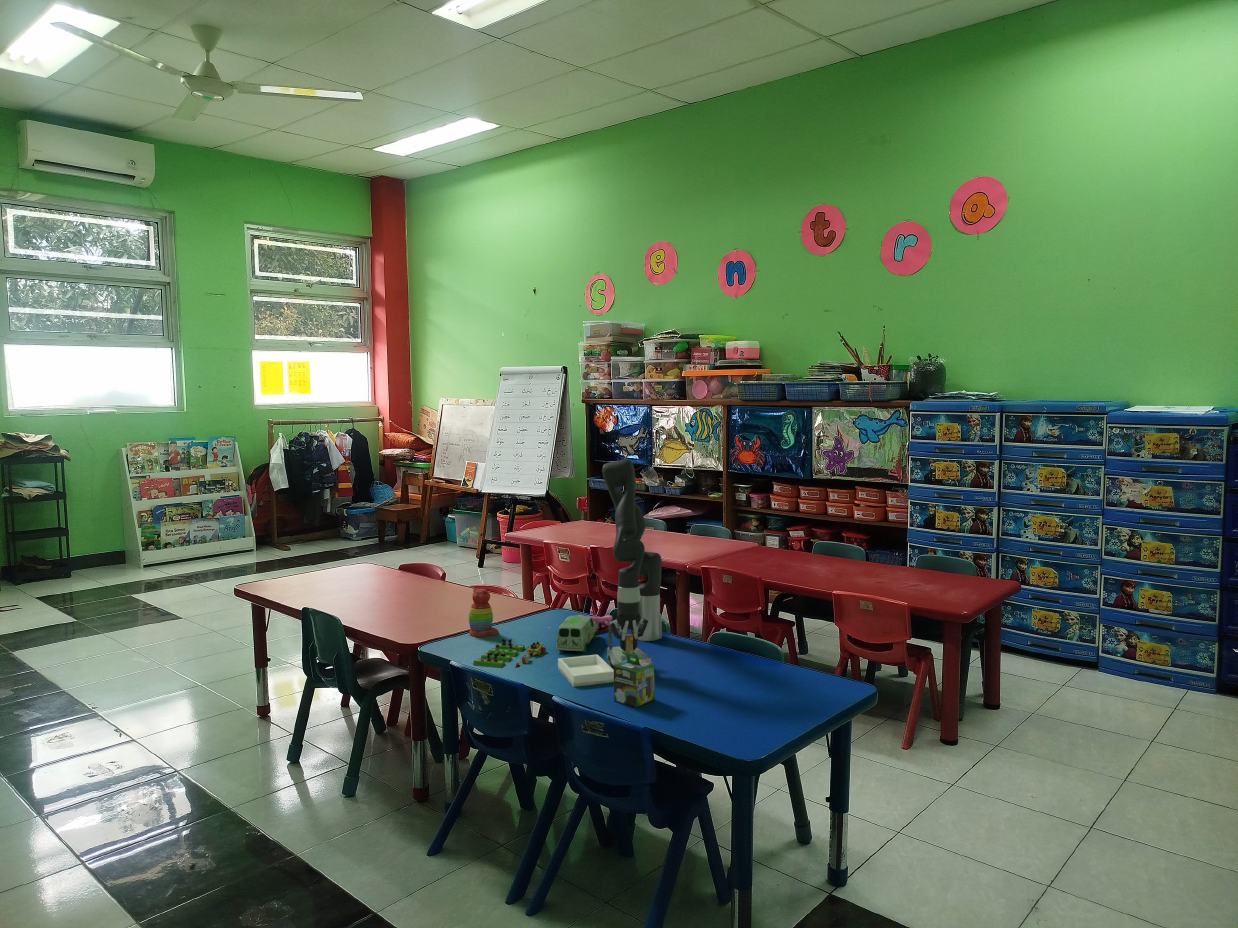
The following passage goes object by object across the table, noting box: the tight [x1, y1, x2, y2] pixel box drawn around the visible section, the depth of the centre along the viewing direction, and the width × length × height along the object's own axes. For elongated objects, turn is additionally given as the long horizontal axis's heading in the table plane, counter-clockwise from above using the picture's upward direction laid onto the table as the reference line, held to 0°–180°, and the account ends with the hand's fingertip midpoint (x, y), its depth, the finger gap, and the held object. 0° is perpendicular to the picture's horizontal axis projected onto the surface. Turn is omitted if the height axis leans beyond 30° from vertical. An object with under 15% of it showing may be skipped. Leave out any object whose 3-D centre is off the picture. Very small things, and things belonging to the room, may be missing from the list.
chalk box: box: [613, 652, 656, 708], centre depth 251 cm, size 9×9×15 cm
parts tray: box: [557, 654, 614, 688], centre depth 274 cm, size 14×19×4 cm
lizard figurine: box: [576, 614, 620, 636], centre depth 331 cm, size 15×20×7 cm
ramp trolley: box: [606, 627, 652, 668], centre depth 279 cm, size 10×16×13 cm, turn 19°
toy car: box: [555, 615, 597, 653], centre depth 309 cm, size 11×25×10 cm, turn 170°
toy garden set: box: [472, 638, 547, 668], centre depth 294 cm, size 23×19×5 cm
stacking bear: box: [468, 587, 499, 638], centre depth 324 cm, size 11×10×18 cm
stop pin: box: [624, 633, 633, 655], centre depth 279 cm, size 3×3×12 cm
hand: (628, 649), depth 279 cm, fingers closed on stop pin, 3 cm apart
